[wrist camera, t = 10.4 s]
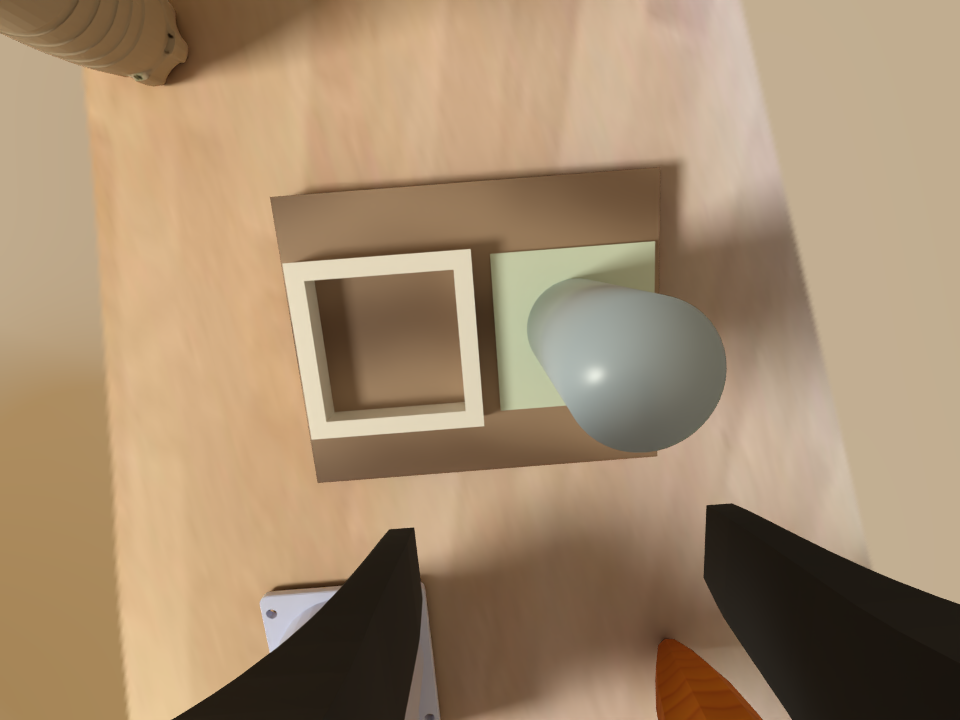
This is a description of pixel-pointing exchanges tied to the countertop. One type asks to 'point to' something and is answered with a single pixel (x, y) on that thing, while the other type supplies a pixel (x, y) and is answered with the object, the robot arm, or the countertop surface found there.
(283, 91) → the countertop surface
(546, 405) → the pad
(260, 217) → the countertop surface
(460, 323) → the cream square frame
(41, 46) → the handle
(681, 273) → the countertop surface
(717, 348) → the grey-blue cylinder
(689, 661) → the carrot
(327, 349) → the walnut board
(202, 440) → the countertop surface
